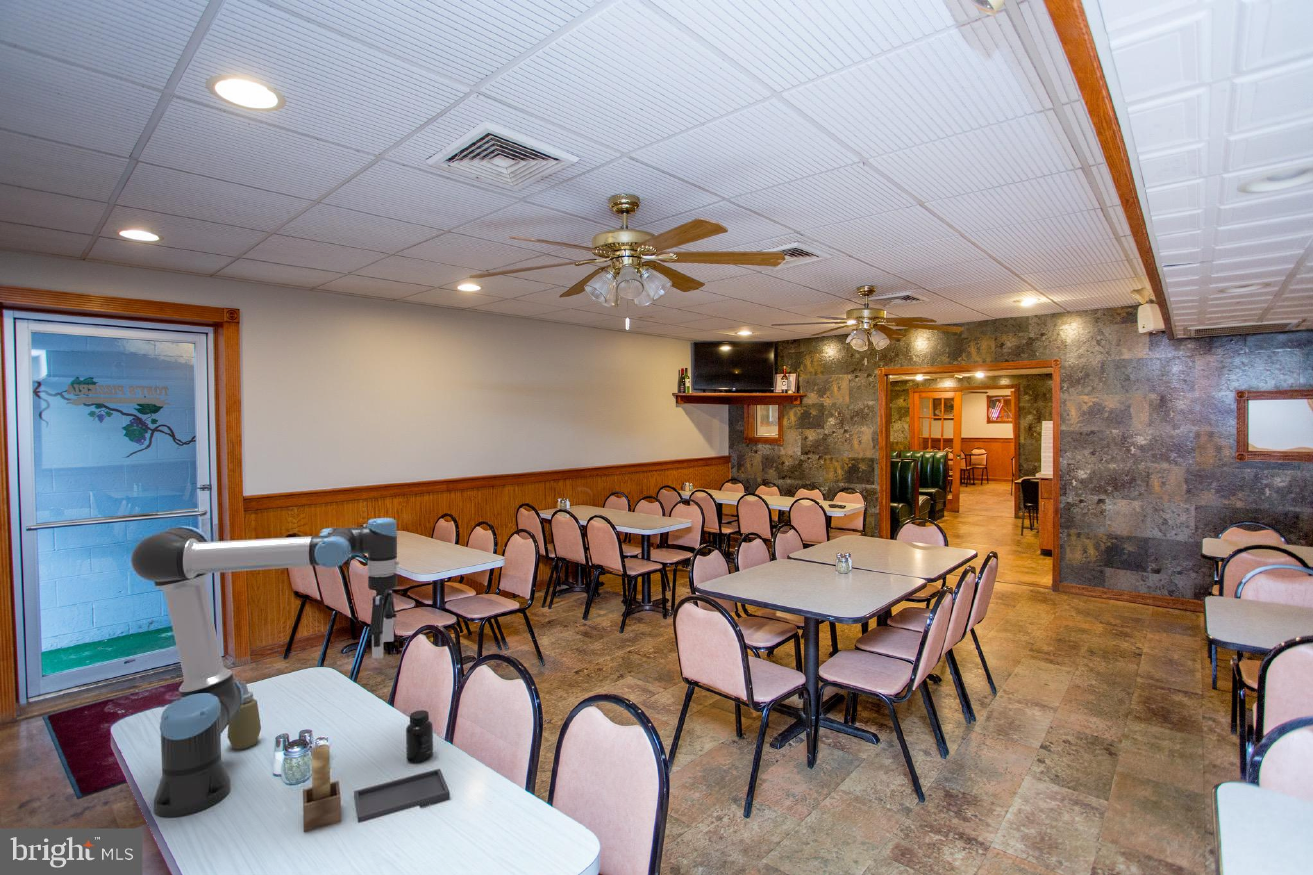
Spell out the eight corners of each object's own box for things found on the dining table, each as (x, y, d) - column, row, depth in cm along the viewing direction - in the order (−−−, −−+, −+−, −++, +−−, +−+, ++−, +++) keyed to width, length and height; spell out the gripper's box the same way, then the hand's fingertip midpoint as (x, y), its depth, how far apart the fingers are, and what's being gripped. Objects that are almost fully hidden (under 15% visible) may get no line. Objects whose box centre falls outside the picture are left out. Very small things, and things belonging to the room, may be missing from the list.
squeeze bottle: (268, 738, 186) (266, 676, 185) (247, 752, 177) (245, 688, 177) (242, 737, 186) (240, 675, 186) (220, 751, 178) (218, 687, 178)
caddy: (303, 835, 141) (303, 805, 141) (303, 817, 148) (302, 789, 147) (341, 824, 145) (340, 795, 145) (339, 807, 151) (338, 780, 151)
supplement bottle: (400, 760, 172) (399, 716, 172) (420, 749, 178) (419, 706, 178) (419, 766, 169) (418, 721, 169) (438, 754, 175) (437, 711, 175)
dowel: (313, 824, 144) (311, 753, 143) (313, 816, 147) (311, 746, 146) (331, 819, 145) (329, 749, 145) (330, 811, 149) (328, 742, 148)
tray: (358, 825, 144) (357, 817, 144) (354, 798, 155) (353, 791, 155) (449, 798, 154) (449, 791, 154) (440, 775, 165) (439, 768, 164)
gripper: (387, 583, 168) (388, 664, 169) (405, 563, 193) (405, 634, 193) (356, 585, 167) (357, 666, 167) (378, 565, 191) (379, 635, 192)
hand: (383, 649), depth 180 cm, fingers open, 13 cm apart
